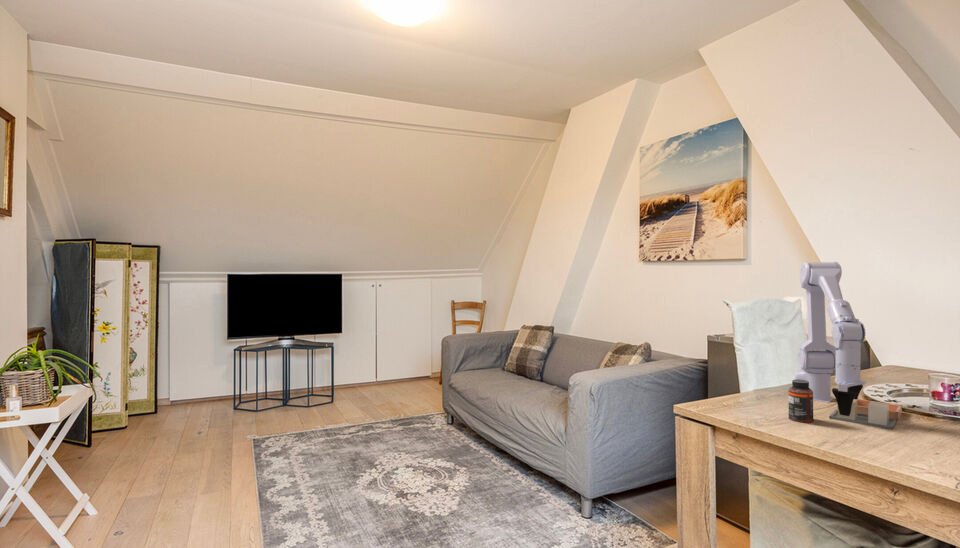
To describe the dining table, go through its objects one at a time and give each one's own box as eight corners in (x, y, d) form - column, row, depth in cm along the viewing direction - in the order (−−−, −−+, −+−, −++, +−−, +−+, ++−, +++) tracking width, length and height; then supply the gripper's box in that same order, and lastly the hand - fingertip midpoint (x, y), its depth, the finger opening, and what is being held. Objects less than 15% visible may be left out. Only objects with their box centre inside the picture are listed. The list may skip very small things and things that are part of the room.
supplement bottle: (810, 418, 147) (810, 379, 147) (816, 425, 141) (816, 384, 141) (786, 417, 149) (786, 377, 149) (791, 423, 143) (791, 382, 143)
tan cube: (837, 417, 147) (837, 399, 146) (840, 414, 149) (840, 397, 149) (854, 420, 144) (854, 402, 144) (857, 417, 147) (857, 399, 147)
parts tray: (829, 419, 146) (829, 416, 146) (835, 412, 152) (836, 409, 152) (892, 430, 136) (892, 427, 136) (896, 422, 143) (896, 419, 142)
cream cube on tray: (868, 422, 142) (868, 404, 142) (870, 419, 145) (870, 401, 144) (886, 425, 139) (886, 407, 139) (888, 422, 142) (888, 404, 142)
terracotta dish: (849, 413, 152) (849, 404, 152) (855, 406, 158) (855, 398, 158) (897, 421, 144) (897, 412, 144) (901, 414, 150) (901, 405, 150)
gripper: (860, 370, 138) (860, 421, 139) (869, 362, 149) (869, 409, 149) (829, 366, 143) (828, 415, 144) (840, 359, 154) (839, 404, 154)
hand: (847, 412), depth 147 cm, fingers open, 7 cm apart
